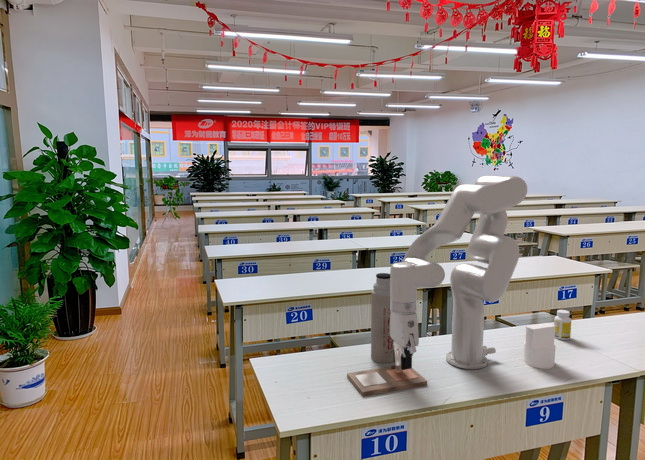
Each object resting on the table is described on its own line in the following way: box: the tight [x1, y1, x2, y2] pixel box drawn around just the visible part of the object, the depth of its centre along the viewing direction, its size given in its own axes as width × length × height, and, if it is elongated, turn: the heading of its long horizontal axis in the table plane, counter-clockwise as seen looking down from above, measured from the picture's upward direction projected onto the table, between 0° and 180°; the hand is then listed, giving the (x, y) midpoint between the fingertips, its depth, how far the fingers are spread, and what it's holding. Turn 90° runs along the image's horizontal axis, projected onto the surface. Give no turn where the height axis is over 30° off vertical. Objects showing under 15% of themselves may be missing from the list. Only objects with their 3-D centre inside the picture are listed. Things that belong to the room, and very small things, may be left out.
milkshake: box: [394, 342, 409, 373], centre depth 136 cm, size 4×5×10 cm
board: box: [346, 365, 428, 397], centre depth 135 cm, size 20×12×2 cm, turn 108°
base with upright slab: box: [522, 322, 556, 370], centre depth 146 cm, size 9×9×12 cm
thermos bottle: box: [370, 272, 394, 364], centre depth 149 cm, size 8×8×28 cm
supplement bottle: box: [553, 309, 572, 341], centre depth 166 cm, size 5×5×10 cm
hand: (402, 364), depth 137 cm, fingers closed on milkshake, 4 cm apart
